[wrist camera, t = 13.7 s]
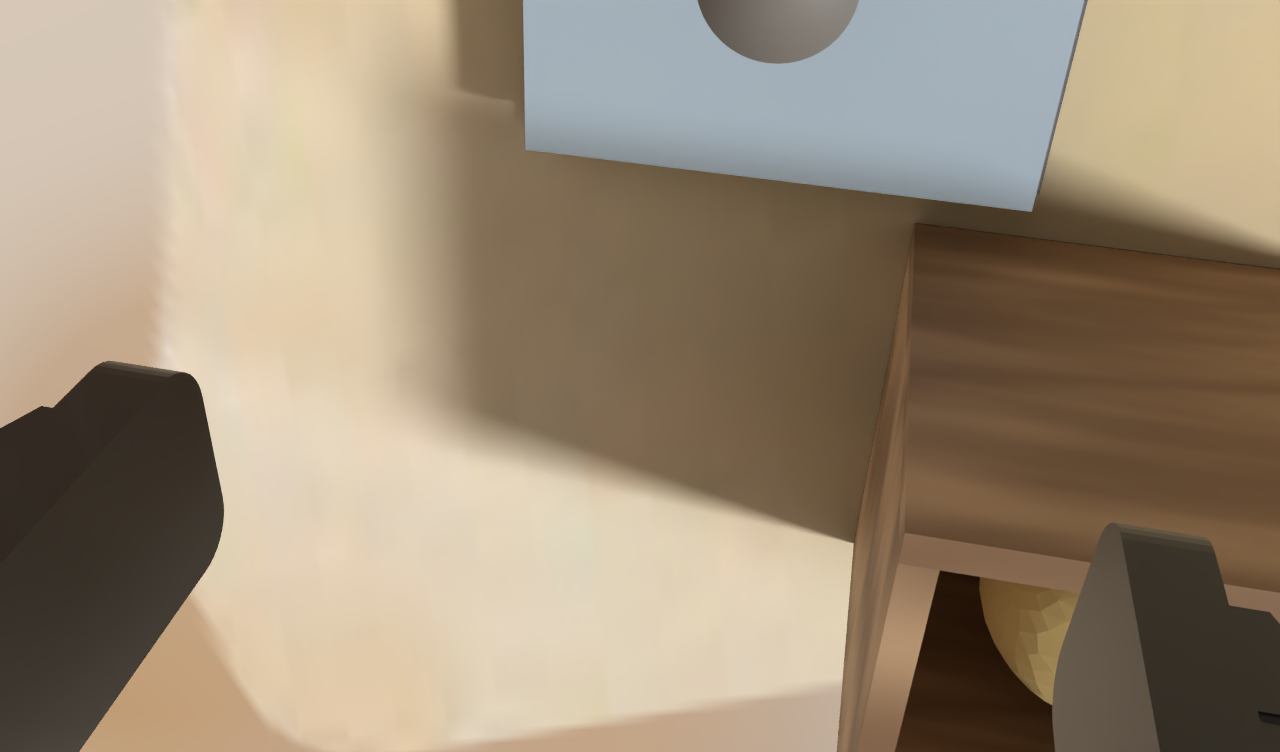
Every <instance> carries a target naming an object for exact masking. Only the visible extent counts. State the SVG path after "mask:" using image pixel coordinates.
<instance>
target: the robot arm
mask: <svg viewBox="0 0 1280 752" xmlns="http://www.w3.org/2000/svg"><path fill="white" fill-rule="evenodd" d="M223 518H224V504H223V497H222V492H221V487H220V482H219V477H218V472H217V467H216V462H215V457H214V452H213V447H212V442H211V437H210V432H209V427H208V422H207V417H206V412H205V407H204V402H203V397H202V393H201V390H200V387H199V385H198V383H197V381H196V380H195V379H194V377H192V376H191V375H190V374H187V373H184V372H178V371H172V370H165V369H159V368H153V367H147V366H140V365H134V364H128V363H121V362H114V361H106V362H102V363H101V364H99V365H97V366H95V367H94V368H93V369H92V370H91V371H90V372H89V373H88V374H87V375H86V376H85V377H84V378H83V379H82V380H81V381H80V382H79V383H78V384H77V385H76V386H75V387H74V388H73V389H72V390H71V391H70V392H69V393H67V395H66V396H64V398H63V399H62V400H61V401H59V402H58V404H56V405H55V407H53V408H50V407H43V406H41V407H39V408H37V409H35V410H33V411H32V412H30V413H28V414H26V415H24V416H22V417H20V418H19V419H17V420H15V421H13V422H11V423H9V424H8V425H6V426H4V427H2V428H0V752H79V751H80V749H81V748H82V747H83V745H84V744H85V742H86V741H87V740H88V738H89V737H90V735H91V734H92V732H93V731H94V730H95V728H96V727H97V725H98V724H99V722H100V721H101V720H102V718H103V717H104V715H105V714H106V713H107V711H108V710H109V708H110V707H111V705H112V704H113V703H114V701H115V700H116V698H117V697H118V695H119V694H120V693H121V691H122V690H123V688H124V687H125V685H126V684H127V682H128V681H129V680H130V678H131V677H132V675H133V674H134V673H135V671H136V670H137V668H138V667H139V665H140V664H141V663H142V661H143V660H144V658H145V657H146V655H147V654H148V653H149V651H150V650H151V648H152V647H153V645H154V644H155V643H156V641H157V640H158V638H159V637H160V635H161V634H162V633H163V631H164V630H165V628H166V627H167V625H168V624H169V623H170V621H171V620H172V618H173V617H174V615H175V614H176V613H177V611H178V610H179V608H180V607H181V605H182V604H183V603H184V601H185V600H186V598H187V597H188V596H189V594H190V593H191V591H192V590H193V588H194V587H195V586H196V584H197V583H198V581H199V580H200V578H201V577H202V576H203V574H204V573H205V571H206V570H207V568H208V567H209V565H210V563H211V561H212V559H213V557H214V555H215V552H216V550H217V547H218V544H219V541H220V537H221V532H222V527H223ZM1052 720H1053V733H1054V743H1055V752H1280V624H1279V622H1278V621H1277V620H1276V619H1275V618H1274V616H1273V615H1272V614H1271V613H1270V612H1266V611H1260V610H1254V609H1248V608H1242V607H1236V606H1230V605H1229V603H1228V599H1227V595H1226V592H1225V588H1224V584H1223V580H1222V577H1221V573H1220V569H1219V566H1218V562H1217V558H1216V554H1215V551H1214V548H1213V546H1212V544H1211V542H1210V541H1209V540H1208V539H1207V538H1206V537H1203V536H1196V535H1190V534H1184V533H1178V532H1171V531H1165V530H1159V529H1152V528H1146V527H1140V526H1133V525H1127V524H1121V523H1114V522H1112V523H1109V524H1108V525H1107V526H1106V527H1105V529H1104V530H1103V532H1102V534H1101V536H1100V539H1099V541H1098V544H1097V547H1096V550H1095V552H1094V555H1093V558H1092V561H1091V564H1090V567H1089V570H1088V572H1087V575H1086V578H1085V581H1084V584H1083V587H1082V590H1081V593H1080V595H1079V598H1078V601H1077V604H1076V607H1075V610H1074V613H1073V615H1072V618H1071V621H1070V624H1069V627H1068V630H1067V633H1066V636H1065V638H1064V641H1063V644H1062V647H1061V651H1060V654H1059V658H1058V663H1057V668H1056V674H1055V680H1054V689H1053V705H1052Z"/></svg>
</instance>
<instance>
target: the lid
mask: <svg viewBox="0 0 1280 752" xmlns="http://www.w3.org/2000/svg"><path fill="white" fill-rule="evenodd" d="M1083 4H1084V0H523V30H524V98H525V150H531V151H539V152H547V153H555V154H563V155H572V156H580V157H588V158H596V159H604V160H612V161H621V162H629V163H637V164H645V165H653V166H661V167H670V168H678V169H686V170H694V171H702V172H710V173H719V174H727V175H735V176H743V177H751V178H759V179H768V180H776V181H784V182H792V183H800V184H808V185H816V186H825V187H833V188H841V189H849V190H857V191H865V192H874V193H882V194H890V195H898V196H906V197H914V198H923V199H931V200H939V201H947V202H955V203H963V204H972V205H980V206H988V207H996V208H1004V209H1012V210H1021V211H1029V212H1032V209H1033V205H1034V201H1035V197H1036V193H1037V189H1038V185H1039V181H1040V177H1041V173H1042V169H1043V165H1044V161H1045V157H1046V153H1047V149H1048V145H1049V141H1050V137H1051V133H1052V129H1053V125H1054V121H1055V117H1056V113H1057V109H1058V105H1059V101H1060V97H1061V93H1062V88H1063V84H1064V80H1065V76H1066V72H1067V68H1068V64H1069V60H1070V56H1071V52H1072V48H1073V44H1074V40H1075V36H1076V32H1077V28H1078V24H1079V20H1080V16H1081V12H1082V8H1083Z"/></svg>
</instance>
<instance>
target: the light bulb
mask: <svg viewBox="0 0 1280 752" xmlns="http://www.w3.org/2000/svg"><path fill="white" fill-rule="evenodd" d="M979 590H980V596H981V602H982V607H983V613H984V618H985V622H986V624H987V627H988V629H989V632H990V634H991V636H992V639H993V641H994V644H995V645H996V647H997V649H998V650H999V652H1000V653H1001V655H1002V657H1003V658H1004V660H1005V661H1006V663H1007V664H1008V666H1009V667H1010V669H1011V670H1012V671H1013V673H1014V674H1015V675H1016V676H1017V677H1018V678H1019V679H1020V680H1021V681H1022V682H1023V683H1024V684H1025V685H1026V686H1027V687H1028V689H1029V690H1031V691H1032V692H1033V693H1034V694H1036V695H1037V696H1038V697H1040V698H1041V699H1042V700H1044V701H1045V702H1047V703H1049V704H1051V705H1053V689H1054V680H1055V674H1056V668H1057V663H1058V658H1059V654H1060V651H1061V647H1062V644H1063V641H1064V638H1065V636H1066V633H1067V630H1068V627H1069V624H1070V621H1071V618H1072V615H1073V613H1074V610H1075V607H1076V604H1077V601H1078V598H1079V595H1080V593H1075V592H1069V591H1063V590H1057V589H1051V588H1045V587H1039V586H1032V585H1026V584H1020V583H1014V582H1008V581H1002V580H996V579H990V578H984V577H980V586H979Z"/></svg>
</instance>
